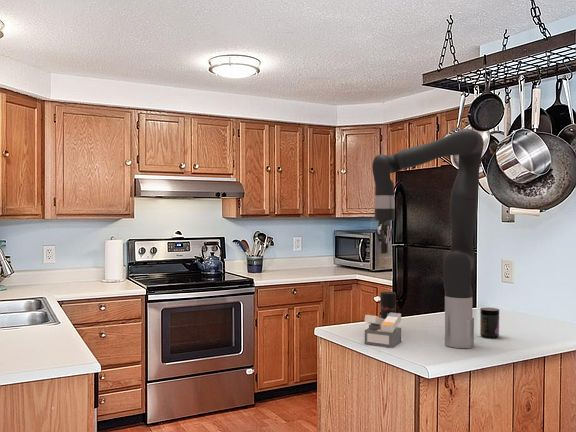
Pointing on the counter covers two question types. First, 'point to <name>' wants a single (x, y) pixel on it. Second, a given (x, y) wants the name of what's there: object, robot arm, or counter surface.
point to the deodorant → (388, 303)
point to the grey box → (382, 336)
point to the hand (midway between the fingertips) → (384, 253)
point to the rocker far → (373, 319)
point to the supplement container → (489, 323)
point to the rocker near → (391, 322)
